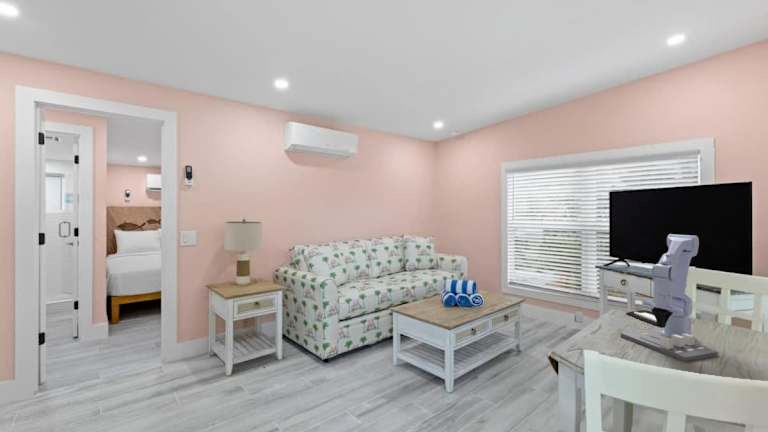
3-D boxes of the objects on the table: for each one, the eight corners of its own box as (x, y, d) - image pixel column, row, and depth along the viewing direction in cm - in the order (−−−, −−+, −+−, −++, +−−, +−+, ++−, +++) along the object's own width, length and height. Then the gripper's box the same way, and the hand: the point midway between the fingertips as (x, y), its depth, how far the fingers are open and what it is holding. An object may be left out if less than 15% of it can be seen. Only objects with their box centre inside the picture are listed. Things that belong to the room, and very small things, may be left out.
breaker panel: (650, 332, 150) (651, 320, 150) (717, 355, 127) (718, 342, 127) (620, 336, 145) (621, 324, 144) (684, 361, 122) (685, 347, 121)
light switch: (622, 310, 176) (646, 307, 178) (622, 316, 176) (646, 313, 178) (657, 324, 156) (684, 320, 158) (657, 330, 157) (684, 326, 158)
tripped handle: (675, 343, 134) (676, 334, 134) (684, 346, 131) (684, 337, 131) (671, 344, 133) (671, 335, 133) (679, 347, 130) (680, 337, 130)
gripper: (637, 290, 143) (636, 322, 143) (675, 299, 129) (674, 334, 129) (649, 289, 145) (648, 320, 145) (688, 298, 131) (687, 332, 131)
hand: (661, 327), depth 138 cm, fingers closed
